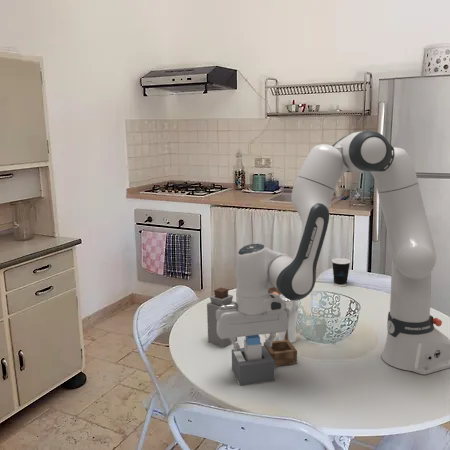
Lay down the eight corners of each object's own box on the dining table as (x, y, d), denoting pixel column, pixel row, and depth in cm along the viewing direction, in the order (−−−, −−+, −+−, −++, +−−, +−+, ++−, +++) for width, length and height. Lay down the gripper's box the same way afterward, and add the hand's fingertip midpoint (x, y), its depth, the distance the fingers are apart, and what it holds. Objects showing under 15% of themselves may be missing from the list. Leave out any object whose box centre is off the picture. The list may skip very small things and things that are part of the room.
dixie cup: (340, 280, 220) (341, 257, 217) (353, 285, 213) (354, 261, 210) (327, 284, 216) (327, 259, 214) (339, 289, 209) (340, 264, 207)
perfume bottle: (236, 340, 163) (236, 289, 159) (223, 348, 158) (222, 294, 154) (221, 335, 167) (220, 284, 164) (208, 342, 162) (206, 290, 158)
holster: (288, 351, 155) (288, 339, 154) (297, 363, 147) (297, 350, 147) (263, 354, 153) (263, 342, 153) (271, 366, 146) (271, 354, 145)
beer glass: (297, 345, 159) (297, 301, 156) (275, 343, 161) (275, 299, 157) (298, 335, 166) (298, 293, 163) (277, 334, 167) (277, 292, 164)
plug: (257, 370, 144) (257, 331, 141) (261, 376, 140) (261, 337, 138) (244, 371, 143) (244, 333, 141) (248, 378, 139) (247, 339, 137)
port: (264, 364, 147) (264, 344, 146) (274, 380, 138) (274, 360, 137) (231, 368, 145) (231, 348, 144) (240, 385, 136) (239, 365, 134)
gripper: (217, 310, 132) (219, 357, 135) (290, 302, 136) (290, 349, 139) (213, 302, 138) (214, 347, 141) (283, 295, 142) (282, 339, 145)
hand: (252, 348), depth 140 cm, fingers open, 8 cm apart
